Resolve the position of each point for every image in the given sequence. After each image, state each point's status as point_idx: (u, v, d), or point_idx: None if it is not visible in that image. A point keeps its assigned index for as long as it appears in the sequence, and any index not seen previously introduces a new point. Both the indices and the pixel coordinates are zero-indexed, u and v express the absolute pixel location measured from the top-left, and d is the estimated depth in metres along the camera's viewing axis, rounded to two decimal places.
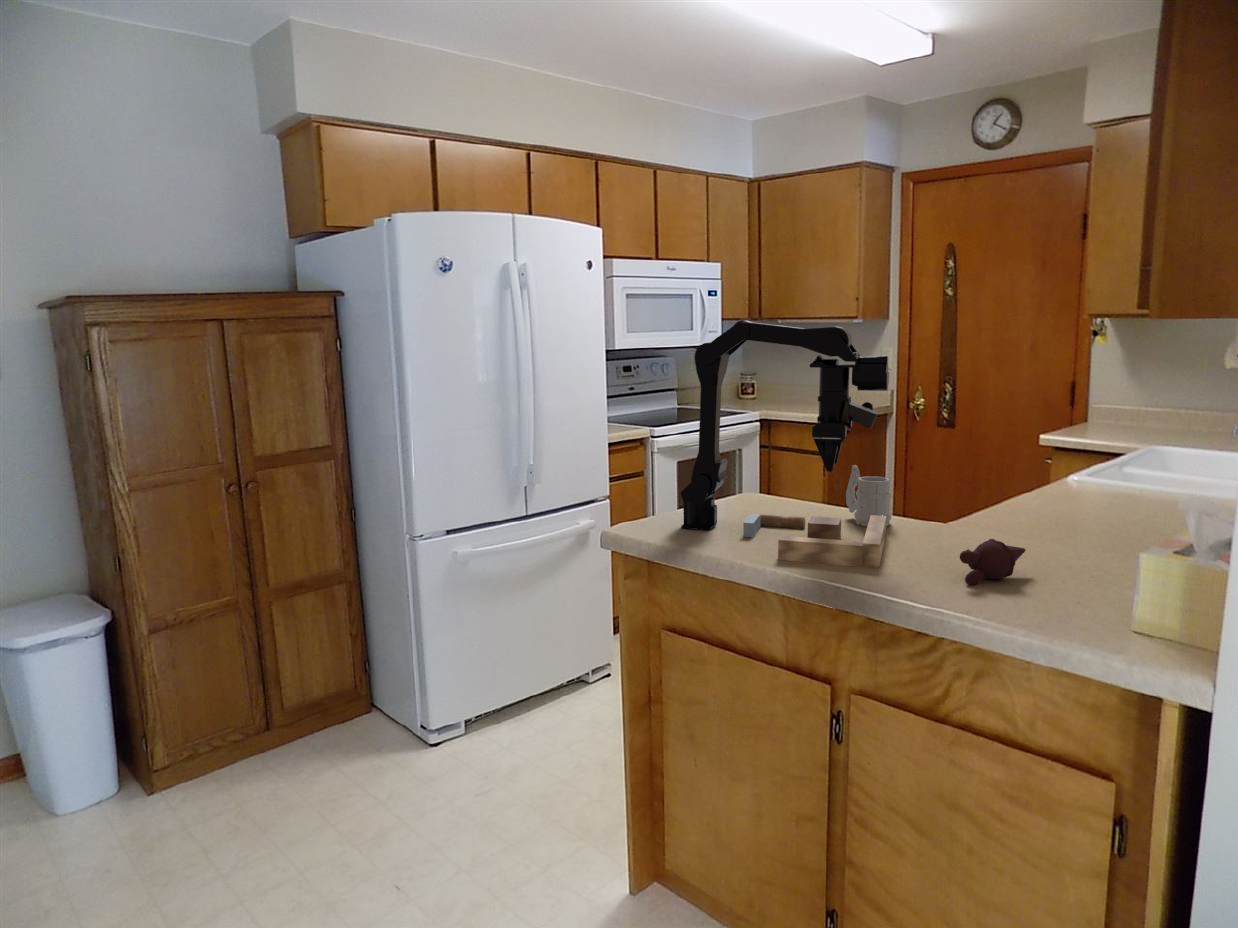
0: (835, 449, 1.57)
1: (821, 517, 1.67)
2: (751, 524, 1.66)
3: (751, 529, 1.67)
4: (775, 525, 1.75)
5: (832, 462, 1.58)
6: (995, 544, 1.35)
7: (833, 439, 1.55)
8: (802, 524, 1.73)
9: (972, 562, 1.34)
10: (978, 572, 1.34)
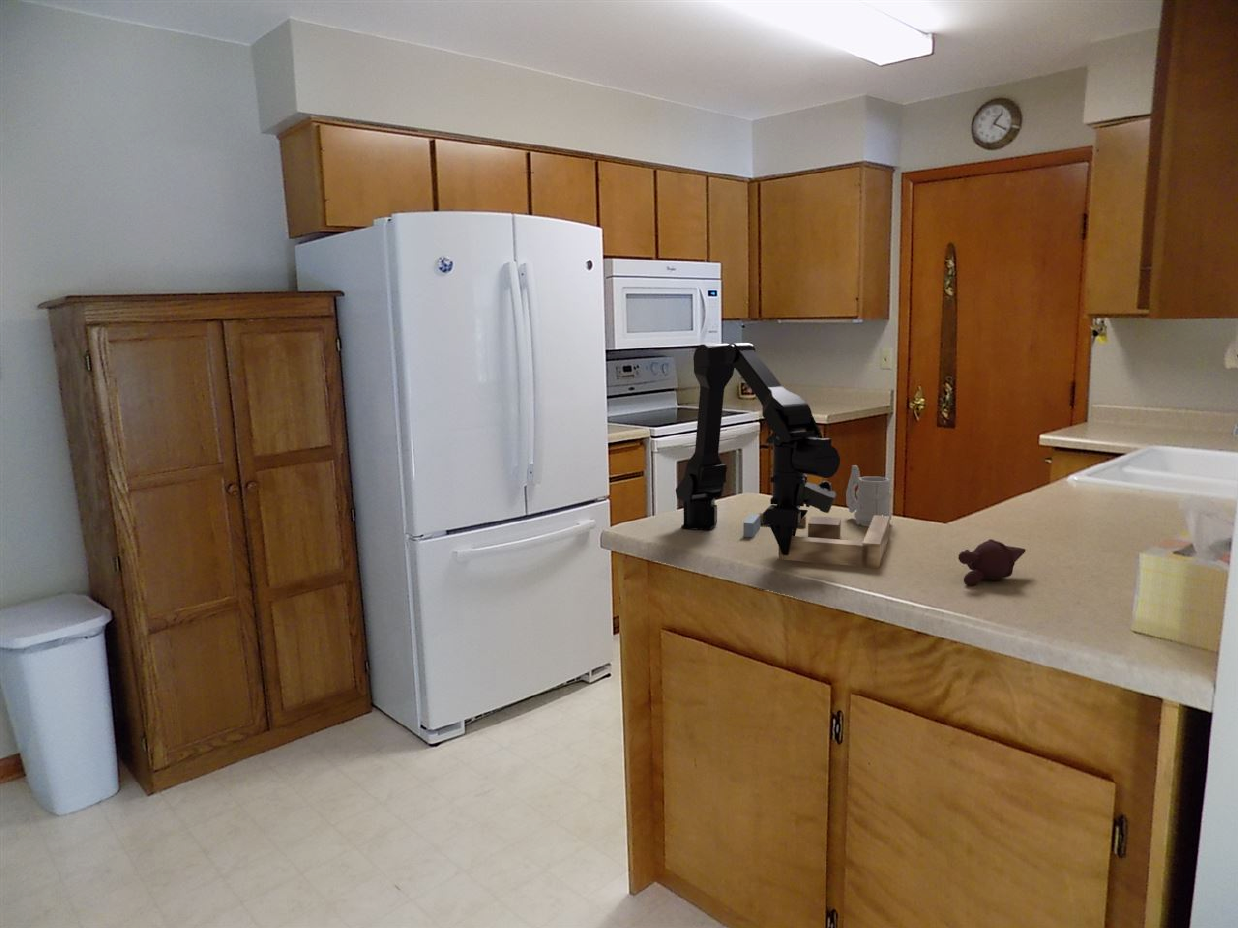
0: (790, 532, 1.47)
1: (821, 517, 1.67)
2: (751, 524, 1.66)
3: (751, 529, 1.67)
4: None
5: (788, 545, 1.48)
6: (994, 544, 1.35)
7: None
8: (803, 517, 1.74)
9: (971, 562, 1.34)
10: (977, 572, 1.34)
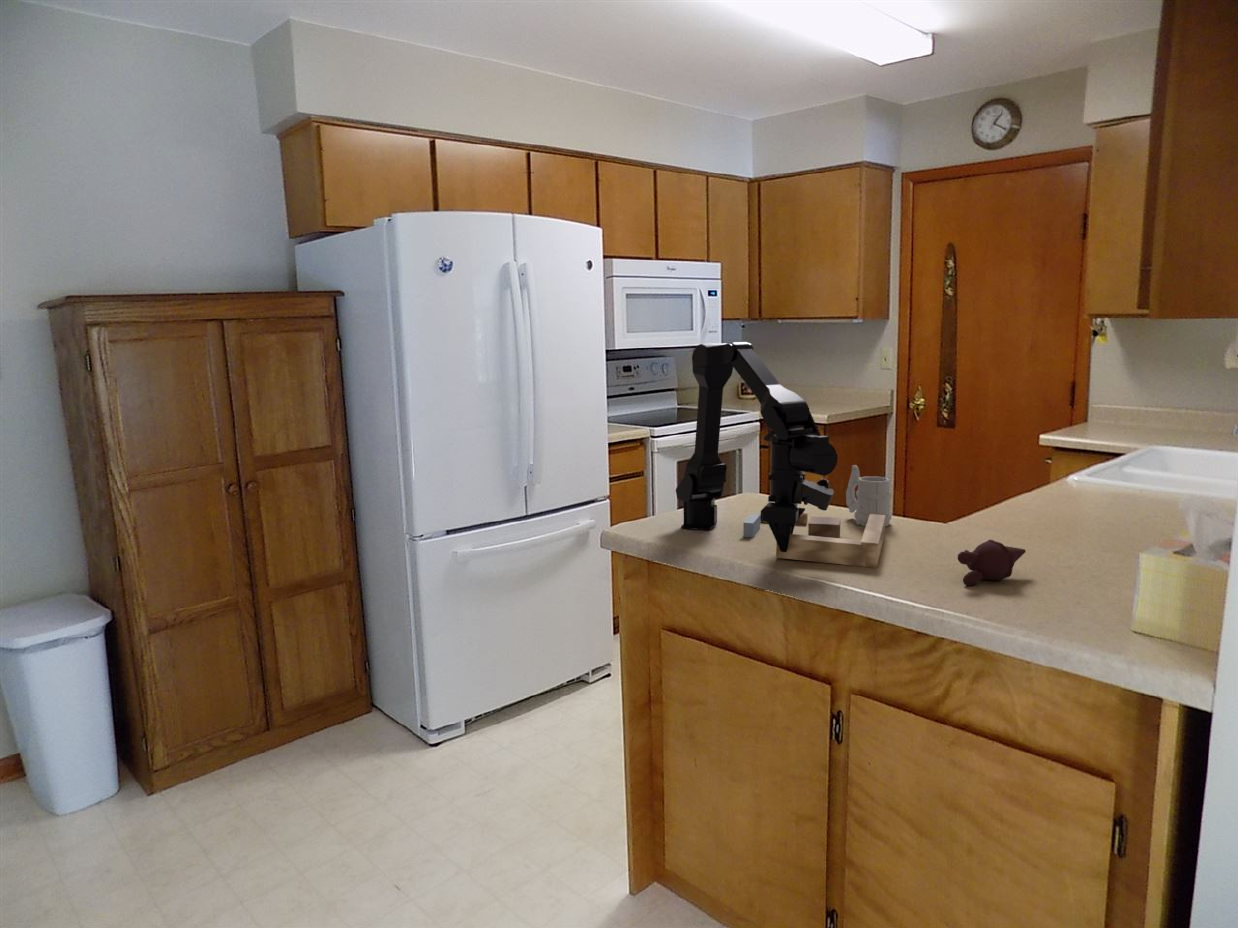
0: (789, 529, 1.47)
1: (820, 517, 1.67)
2: (751, 524, 1.66)
3: (751, 529, 1.67)
4: None
5: (786, 542, 1.49)
6: (994, 545, 1.35)
7: None
8: None
9: (970, 562, 1.34)
10: (976, 573, 1.34)
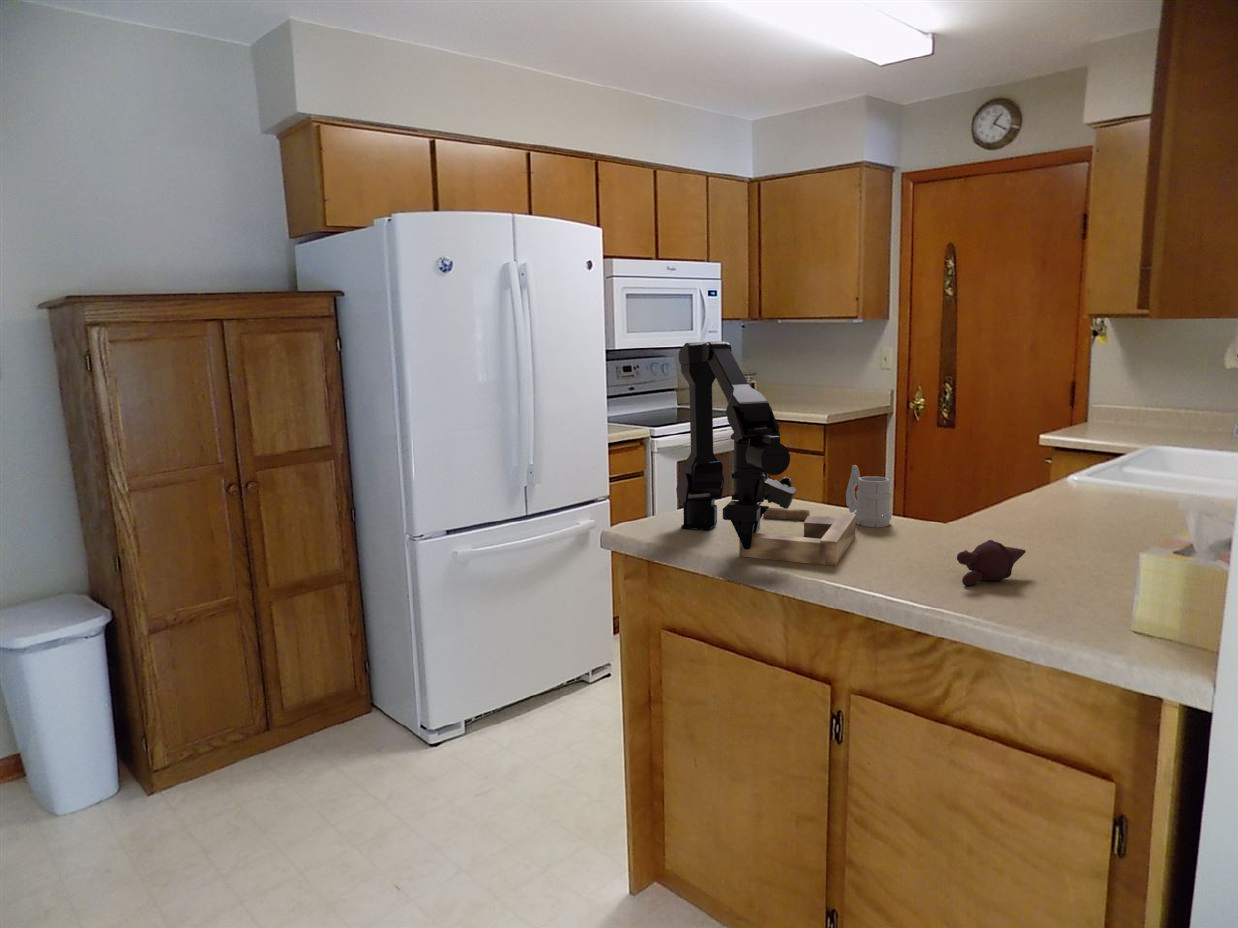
0: (751, 527, 1.50)
1: (818, 516, 1.67)
2: None
3: None
4: (780, 517, 1.82)
5: (749, 540, 1.51)
6: (993, 545, 1.35)
7: None
8: (807, 515, 1.79)
9: (969, 562, 1.34)
10: (975, 573, 1.34)
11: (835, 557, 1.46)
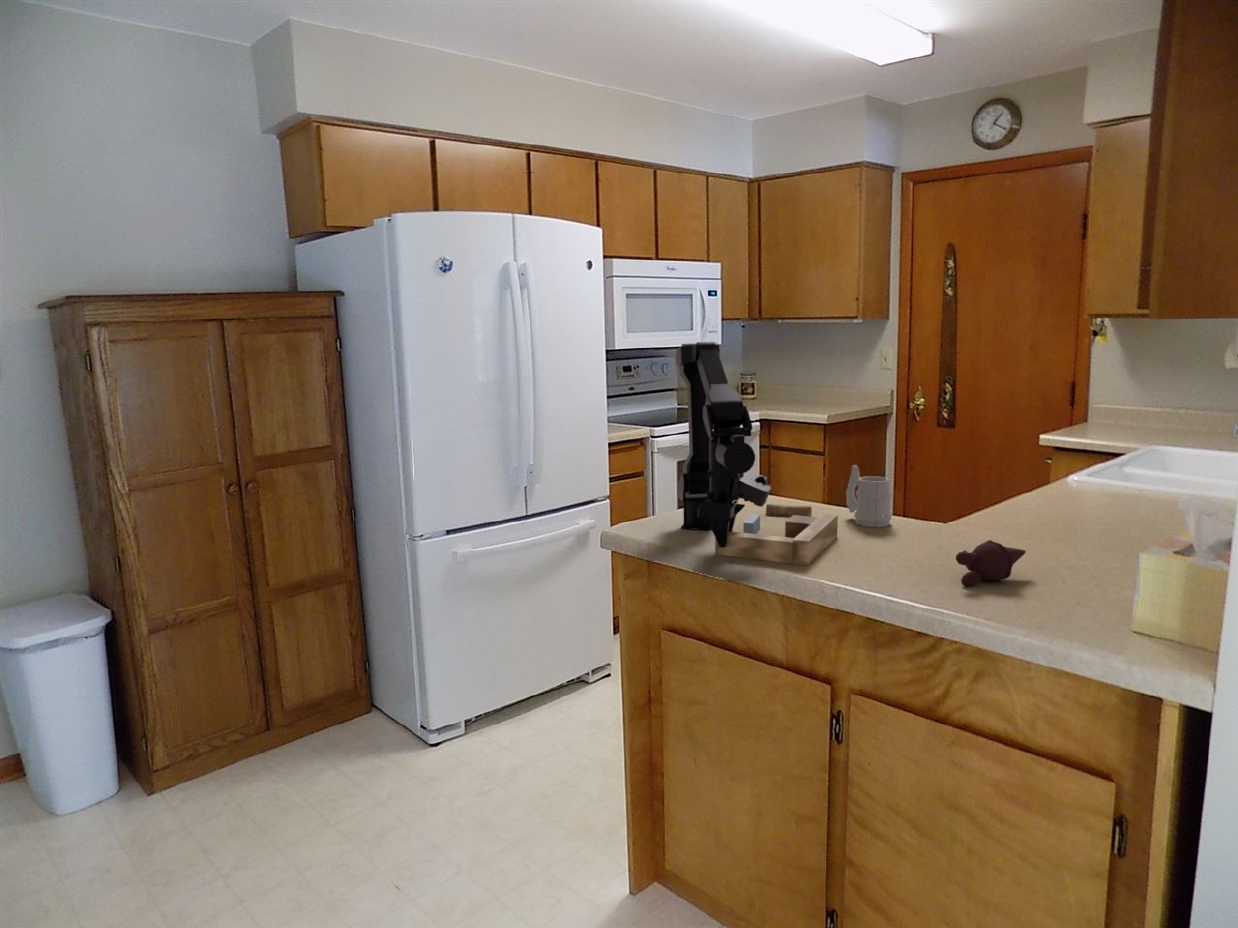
0: (726, 525, 1.51)
1: (802, 516, 1.68)
2: (751, 524, 1.66)
3: (751, 529, 1.67)
4: None
5: (724, 538, 1.53)
6: (992, 545, 1.35)
7: None
8: None
9: (968, 563, 1.33)
10: (975, 573, 1.34)
11: (807, 557, 1.47)
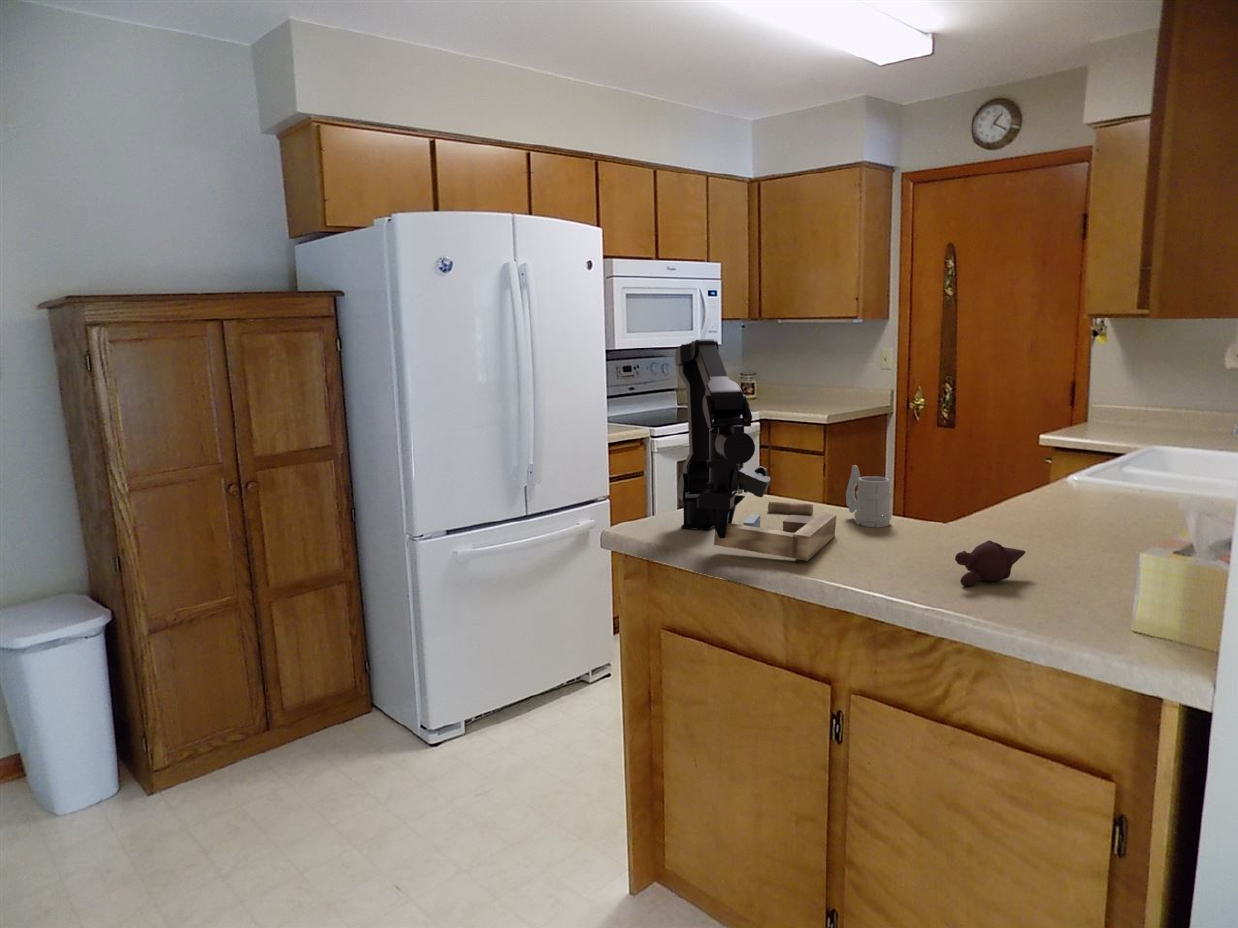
0: (726, 516, 1.51)
1: (800, 516, 1.68)
2: (751, 524, 1.66)
3: None
4: None
5: (724, 529, 1.52)
6: (992, 545, 1.34)
7: None
8: (810, 514, 1.85)
9: (967, 563, 1.33)
10: (974, 574, 1.33)
11: (807, 552, 1.47)
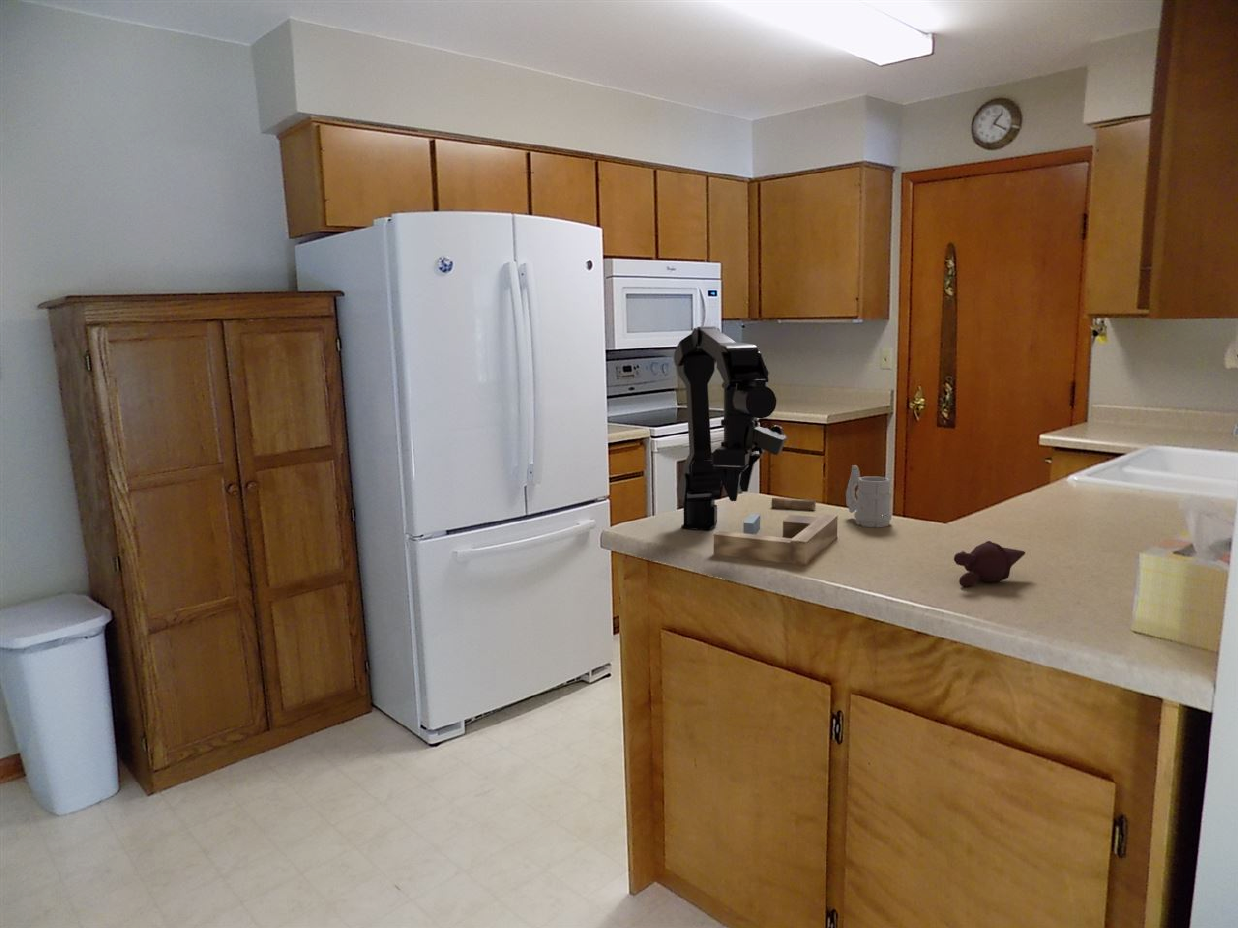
0: (737, 477, 1.46)
1: (799, 516, 1.68)
2: (751, 524, 1.66)
3: (751, 529, 1.67)
4: None
5: (735, 491, 1.47)
6: (991, 546, 1.34)
7: (733, 467, 1.44)
8: None
9: (966, 563, 1.33)
10: (973, 574, 1.33)
11: (805, 557, 1.47)
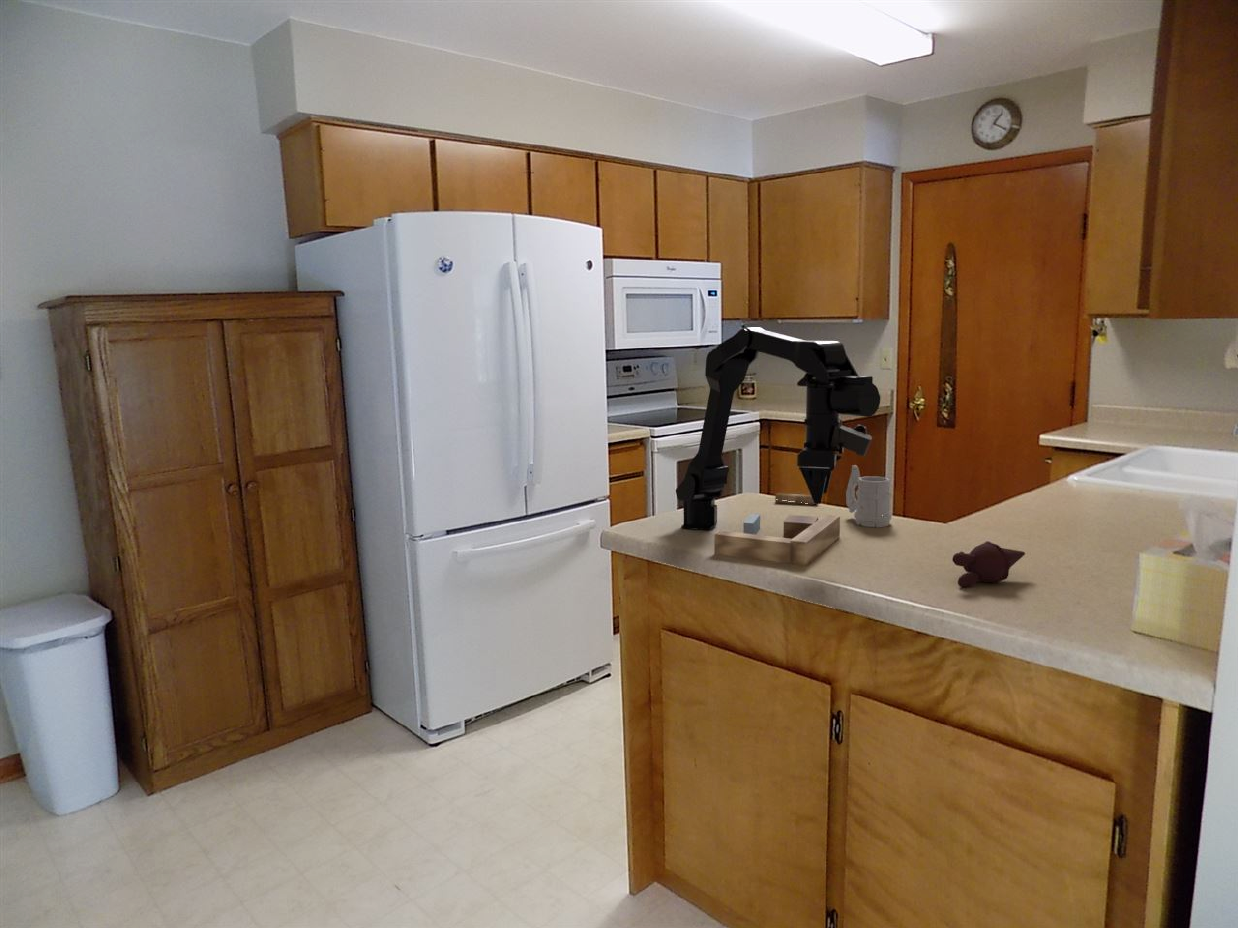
0: (823, 479, 1.40)
1: (798, 516, 1.68)
2: (751, 524, 1.66)
3: (751, 529, 1.67)
4: (792, 494, 1.97)
5: (820, 493, 1.41)
6: (990, 546, 1.34)
7: (821, 468, 1.38)
8: None
9: (965, 564, 1.33)
10: (971, 575, 1.33)
11: (805, 557, 1.47)
